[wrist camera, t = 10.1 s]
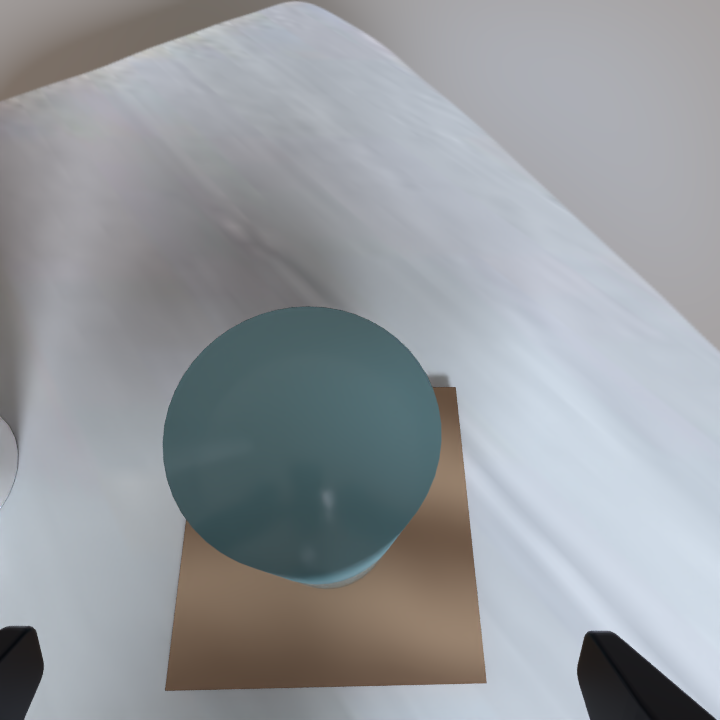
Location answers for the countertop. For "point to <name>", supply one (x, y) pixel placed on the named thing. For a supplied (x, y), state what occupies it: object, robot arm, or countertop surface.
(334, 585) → the cylinder
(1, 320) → the countertop surface
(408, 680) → the walnut board
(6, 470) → the cylindrical container
